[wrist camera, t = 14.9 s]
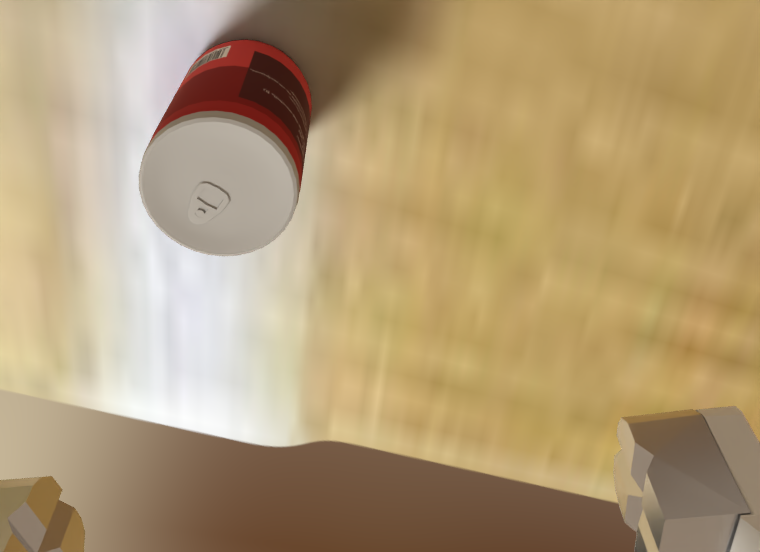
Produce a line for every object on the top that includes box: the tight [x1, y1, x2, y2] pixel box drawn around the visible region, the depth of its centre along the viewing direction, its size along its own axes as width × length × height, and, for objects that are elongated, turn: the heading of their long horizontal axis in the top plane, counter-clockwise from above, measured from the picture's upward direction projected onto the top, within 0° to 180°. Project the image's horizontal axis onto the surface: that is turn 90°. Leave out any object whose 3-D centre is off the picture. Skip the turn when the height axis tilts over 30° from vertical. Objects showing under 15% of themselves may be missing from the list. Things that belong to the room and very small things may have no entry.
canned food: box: [139, 40, 312, 256], centre depth 38 cm, size 8×8×11 cm
